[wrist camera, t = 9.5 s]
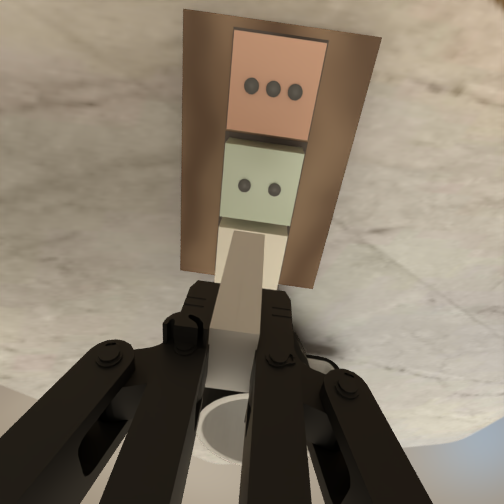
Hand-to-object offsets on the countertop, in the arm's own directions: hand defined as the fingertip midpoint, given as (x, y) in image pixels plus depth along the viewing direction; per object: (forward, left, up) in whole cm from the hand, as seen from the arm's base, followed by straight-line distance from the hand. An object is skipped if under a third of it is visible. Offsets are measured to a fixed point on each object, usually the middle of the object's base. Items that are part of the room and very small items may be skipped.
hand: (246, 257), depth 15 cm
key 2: (0, 0, -13) cm, 13 cm away
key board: (0, 0, -16) cm, 16 cm away
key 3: (0, +7, -13) cm, 15 cm away
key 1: (0, -7, -13) cm, 15 cm away
